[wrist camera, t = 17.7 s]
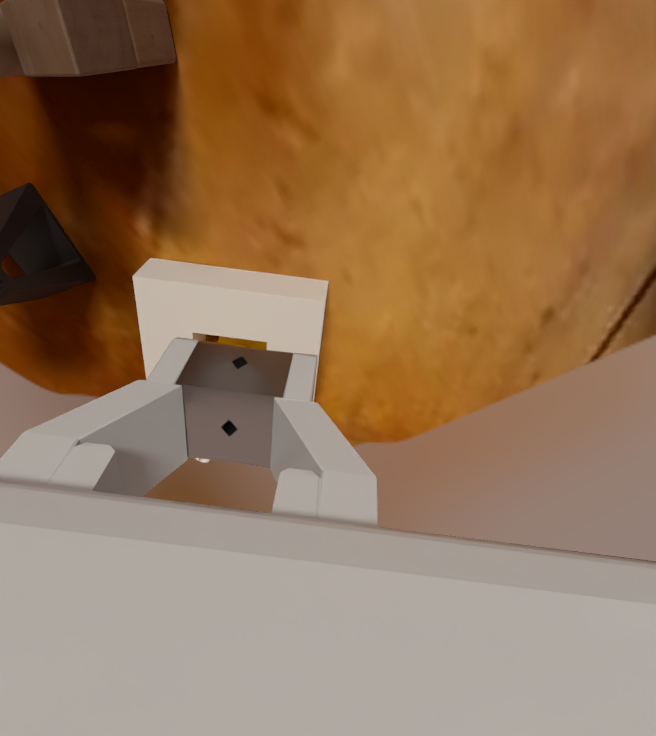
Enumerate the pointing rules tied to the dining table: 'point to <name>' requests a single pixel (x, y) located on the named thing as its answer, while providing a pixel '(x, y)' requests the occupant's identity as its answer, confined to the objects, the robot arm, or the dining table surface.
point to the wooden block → (82, 37)
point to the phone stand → (36, 249)
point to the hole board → (226, 307)
